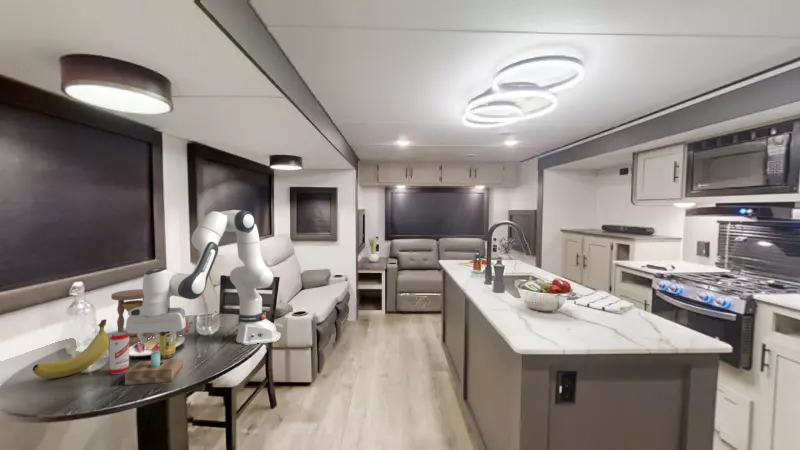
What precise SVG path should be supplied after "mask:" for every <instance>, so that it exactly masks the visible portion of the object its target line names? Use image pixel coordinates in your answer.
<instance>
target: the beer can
mask: <svg viewBox="0 0 800 450" xmlns="http://www.w3.org/2000/svg"><path fill="white" fill-rule="evenodd" d="M108 360H109V362H108V363H109V365H108V366H109V369H108V370H109V373H110V374H112V375H120V374H123V373H125V372H126V371H127V370H129V369H130V345H129V335H128V334H127V332H118V331H116V332H113V333H112V334H111V336H110V338H109V359H108Z"/></svg>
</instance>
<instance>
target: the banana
mask: <svg viewBox="0 0 800 450" xmlns="http://www.w3.org/2000/svg"><path fill="white" fill-rule="evenodd" d="M106 324H107V319H106V318H104V319H101V320H100V323H98V325H97V326H98V327H99V331H98V333H97V335H96V336H95V337H94V338H93V340H92V341H91V342H90V343H89V345H88V346H87V347H86V348H85V349H84V350H82V352H80V353H79V354H77V355H76V356H74V357H72V358H69V359H66V360H62V361H57V362H44V363H43V362H42V363H38V364H35V365H33V366H32V372H33V373H34V374H35V375H36V376H38V377H39V378H43V379H59V378H64V377H68V376H72V375H75V374H77V373H80V372H82V371H84V370H86V369H87V368H90V366H92V365H93V364H96V363H95V362H97V361H98V360H100V359H101V358H102V356H104V354H105V353H106V352H107V350H108V348H109V347H110V338H109V336H108V334H107V333H106V331H105V329H104V328H105V327H106Z"/></svg>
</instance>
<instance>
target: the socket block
mask: <svg viewBox="0 0 800 450" xmlns="http://www.w3.org/2000/svg"><path fill="white" fill-rule="evenodd" d="M183 361H184V359H183V358H175V359H174V358H173V359H160V367H152V368H151V360H140V361H138V362H137V363H135V364H134V365H133V366H131V367H129V368H128V370H127V371H125V372H124V385H125V386H126V385H127V386H128V385H130V386H131V385H143V384H146V385H147V384H158V383H172V382H173V381H174V380H175V379H176V378H177V377H178V376H179V375H180V374H181V373H182V372H183V369H184V367H183V364H184V363H183Z"/></svg>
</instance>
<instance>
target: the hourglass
mask: <svg viewBox="0 0 800 450" xmlns="http://www.w3.org/2000/svg"><path fill="white" fill-rule="evenodd" d="M111 300H114V301H117V308H116V310H117V311H116V312H117V314H118V318H117V321H116V323H117V332H127V331H126V329H124V326H125V318H124V313H125V311H126V312H128V311H130V310H131V309H133V308H136V307H138V306H141V305H143V300H144V294H143V288H137V289H128V290H122V291H121V290H120V291H117V292H113V293H111ZM127 334H128V335H129V346H130V345H136V344H139V343H138V342H140V339H139V338H138V336H137V333H127ZM143 336H144V338H147V339H148V338H150V337H151V336H153V337H154V332H148V333H144V334H143ZM135 343H136V344H135Z"/></svg>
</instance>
